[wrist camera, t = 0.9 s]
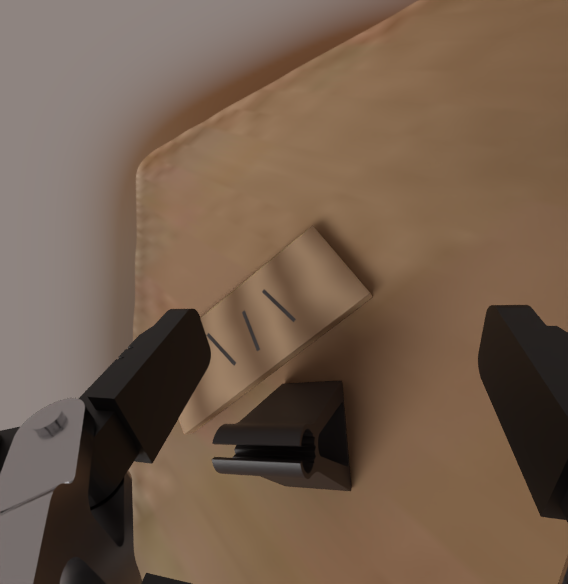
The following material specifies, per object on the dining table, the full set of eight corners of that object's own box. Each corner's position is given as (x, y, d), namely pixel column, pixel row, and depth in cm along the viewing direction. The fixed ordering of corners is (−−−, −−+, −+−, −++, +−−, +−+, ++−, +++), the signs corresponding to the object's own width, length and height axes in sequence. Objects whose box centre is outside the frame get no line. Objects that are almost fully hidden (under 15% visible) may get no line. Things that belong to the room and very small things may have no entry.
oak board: (316, 231, 35) (312, 225, 34) (372, 297, 31) (370, 292, 29) (164, 356, 39) (154, 355, 38) (193, 432, 34) (184, 434, 33)
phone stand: (284, 383, 32) (214, 377, 21) (342, 380, 30) (297, 372, 19) (286, 484, 29) (207, 535, 19) (351, 490, 27) (304, 551, 16)
